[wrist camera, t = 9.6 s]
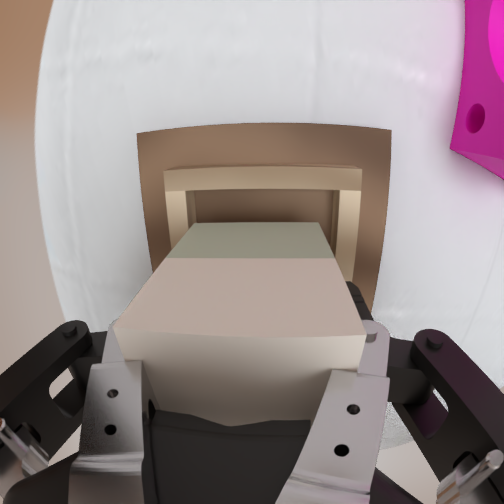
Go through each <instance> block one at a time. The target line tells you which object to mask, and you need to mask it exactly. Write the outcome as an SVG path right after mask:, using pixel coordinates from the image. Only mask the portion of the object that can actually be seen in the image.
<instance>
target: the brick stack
mask: <svg viewBox="0 0 504 504" xmlns="http://www.w3.org/2000/svg"><path fill="white" fill-rule="evenodd" d="M113 330H114V333H115V335H116V338H117V341H118V344H119V347H120V349H121V352H122V355H123V357H124V360H125V361H129V360H142V362H143V364H144V367H145V370H146V373H147V376H148V378H149V381H150V384H151V386H152V389H153V391H154V394H155V397H156V399H157V402H158V404H159V406H160V409H161V410H163V411H170V412H176V413H183V414H191V415H194V416H197V417H200V418H203V419H206V420H209V421H212V422H215V423H219V424H222V425H225V426H238V425H245V424H252V423H258V422H264V421H269V420H310V421H311V427H312V425H313V422H314V420H315V417H316V415H317V412H318V409H319V407H320V404H321V401H322V399H323V396H324V393H325V390H326V387H327V384H328V382H329V379H330V376H331V373H332V370H333V369H341V370H348V371H354V372H357V371H358V367H359V363H360V360H361V356H362V352H363V348H364V344H365V340H366V336H367V334H366V331H365V329H364V326H363V324H362V321H361V319H360V316H359V314H358V311H357V309H356V306H355V304H354V301H353V299H352V296H351V294H350V292H349V289H348V287H347V285H346V282H345V280H344V278H343V275H342V273H341V271H340V268H339V266H338V264H337V262H336V259H335V257H334V255H333V253H332V250H331V248H330V246H329V244H328V242H327V240H326V237H325V235H324V233H323V231H322V229H321V227H320V225H319V223H318V222H236V223H194V224H193V225H192V226H191V228H190V229H189V230H188V231H187V232H186V233H185V235H184V236H183V237H182V238H181V239H180V241H179V242H178V243H177V244H176V246H175V247H174V248H173V249H172V250H171V252H170V253H169V254H168V255H167V257H166V258H165V259H164V260H163V262H162V263H161V264H160V265H159V267H158V268H157V269H156V270H155V272H154V273H153V274H152V275H151V277H150V278H149V279H148V280H147V282H146V283H145V284H144V286H143V287H142V288H141V289H140V291H139V292H138V293H137V295H136V296H135V297H134V299H133V300H132V301H131V303H130V304H129V305H128V306H127V308H126V309H125V310H124V312H123V313H122V315H121V316H120V317H119V319H118V320H117V321H116V323H115V324H114V325H113Z"/></svg>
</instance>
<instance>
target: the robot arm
mask: <svg viewBox="0 0 504 504" xmlns="http://www.w3.org/2000/svg"><path fill="white" fill-rule="evenodd" d="M345 282H346V285H347V287H348V289H349V292H350V294H351V296H352V299H353V301H354V304H355V306H356V309H357V311H358V314H359V316H360V319H361V321H362V324H363V326H364V329H365V331H366V334H367V336H366V340H365V344H364V348H363V352H362V356H361V360H360V363H359V367H358V371H357V372H354V371H348V370H341V369H333V370H332V373H331V376H330V379H329V382H328V384H327V387H326V390H325V393H324V396H323V399H322V401H321V404H320V407H319V409H318V412H317V415H316V417H315V420H314V422H313V425H312V427H311V421H310V420H269V421H264V422H258V423H252V424H245V425H238V426H225V425H222V424H219V423H215V422H212V421H209V420H206V419H203V418H200V417H197V416H194V415H191V414H183V413H176V412H170V411H163V410H161V409H160V406H159V404H158V402H157V399H156V397H155V394H154V391H153V389H152V386H151V384H150V381H149V378H148V376H147V373H146V370H145V367H144V364H143V362H142V360H129V361H125V360H124V357H123V355H122V352H121V349H120V347H119V344H118V341H117V338H116V335H115V333H114V330H113V325H114V324H115V323H116V321H117V320H118V319H119V318H118V319H116V320H114V321H113V322H112V323H111V324H110V326H109V328H108V331H104V332H94V333H90V331H89V329H88V326H87V324H86V323H85V322H83V321H79V320H74V321H69V322H66V323H64V324H62V325H60V326H59V327H58V328H57V329H55V330H54V331H53V332H52V333H50V334H49V335H48V336H46V337H45V338H44V339H43V340H41V341H40V342H39V343H38V344H37V345H35V346H34V347H33V348H32V349H30V350H29V351H28V352H27V353H26V354H25V355H23V356H22V357H21V358H20V359H19V360H17V361H16V362H15V363H14V364H13V365H11V366H10V367H9V368H8V369H7V370H6V371H4V372H3V373H2V374H1V375H0V495H1V497H2V498H3V499H4V500H3V504H423V503H421V502H420V501H419V500H417V499H416V498H415V497H413V496H412V495H411V494H409V493H408V492H407V491H405V490H404V489H403V488H401V487H400V486H399V485H397V484H396V483H395V482H394V481H392V480H391V479H390V478H389V477H387V476H386V475H385V474H383V473H382V472H381V471H380V470H378V469H377V468H376V467H375V466H376V462H377V457H378V453H379V448H380V443H381V438H382V432H383V426H384V420H385V414H386V407H387V402H392V405H393V407H394V408H395V410H396V412H397V413H398V415H399V416H400V418H401V419H402V421H403V423H404V424H405V426H406V427H407V429H408V431H409V432H410V434H411V435H412V437H413V439H414V440H415V442H416V443H417V445H418V447H419V448H420V450H421V452H422V453H423V455H424V457H425V458H426V460H427V462H428V463H429V465H430V467H431V468H432V470H433V472H434V473H435V475H436V477H437V478H438V480H439V482H440V484H439V486H438V489H437V500H436V504H504V394H503V393H502V392H501V391H500V390H499V389H498V387H497V386H496V385H495V384H494V383H493V382H492V381H491V380H490V379H489V378H488V376H487V375H486V374H485V373H484V372H483V371H482V370H481V369H480V368H479V367H478V366H477V365H476V364H475V363H474V362H473V361H472V360H471V359H470V357H469V356H468V355H467V354H466V353H465V352H464V351H463V350H462V349H461V348H460V347H459V346H458V345H457V344H456V343H455V342H454V341H453V340H452V339H451V338H450V337H449V336H447V335H446V334H445V333H443V332H441V331H438V330H434V329H424V330H421V331H419V332H418V333H417V334H416V335H415V337H414V340H413V341H408V340H401V339H395V338H392V337H390V334H389V331H388V329H387V328H386V327H385V326H383V325H382V324H380V323H378V322H375V321H374V320H373V318H372V316H371V313H370V311H369V309H368V307H367V305H366V303H365V300H364V298H363V296H362V294H361V292H360V290H359V288H358V287H357V286H356V285H355V284H353V283H352V282H351V281H345ZM67 368H68V369H69V371H70V373H71V375H72V376H73V378H74V379H73V380H72V381H71V382H69V384H68V385H66V386H65V387H64V388H63V390H61V391H60V392H59V393H58V394H57V395H56V396H55V397H54V398H53V399H52V398H51V396H50V394H49V387H50V385H51V383H52V382H53V381H54V380H55V379H56V378H57V377H58V376H59V375H60V374H61V373H62V372H63V371H64V370H66V369H67ZM434 389H436V390H437V391H438V393H439V394H440V395H441V396H442V398H443V399H444V400H445V402H446V403H447V406H448V412H447V410H446V409H445V408H444V406H443V405H442V404H441V402H440V401H439V400H438V398H437V397H436V396H435V394H434V393H433V390H434ZM81 424H82V425H81ZM80 425H81V433H80V443H79V451H78V452H76V453H74V454H72V455H70V456H69V457H67V458H65V459H63V460H61V461H59V462H57V463H55V464H53V465H51V466H49V467H48V464H49V460H50V459H51V458H52V457H53V456H54V455H55V453H56V452H57V451H58V450H59V449H60V448H61V446H62V445H63V444H64V443H65V442H66V441H67V439H68V438H69V437H70V436H71V435H72V434H73V433H74V432H75V431H76V429H77V428H78V427H79V426H80Z"/></svg>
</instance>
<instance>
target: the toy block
mask: <svg viewBox="0 0 504 504" xmlns="http://www.w3.org/2000/svg"><path fill="white" fill-rule="evenodd" d="M450 149H451V150H453V151H455V152H457V153H459V154H461V155H463V156H465V157H466V158H468V159H470V160H472V161H474V162H475V163H477V164H479V165H481V166H482V167H484V168H486V169H487V170H489V171H491V172H492V173H494V174H496V175H497V176H499V177H500V178H502V179H504V0H465V46H464V61H463V71H462V80H461V88H460V96H459V102H458V108H457V114H456V120H455V125H454V130H453V135H452V140H451V144H450Z"/></svg>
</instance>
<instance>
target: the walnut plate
mask: <svg viewBox="0 0 504 504" xmlns="http://www.w3.org/2000/svg"><path fill="white" fill-rule="evenodd" d="M137 147H138V161H139V172H140V183H141V193H142V202H143V210H144V218H145V225H146V232H147V239H148V246H149V252H150V258H151V264H152V270H153V273H154V272H155V270H156V269H157V268H158V267H159V265H160V264H161V263H162V262H163V260H164V259H165V258H166V257H167V255H168V254H169V253H170V252H171V250H172V249H173V248H174V247H175V246H176V244H177V243H178V242H179V241H180V239H181V238H182V237H183V236H184V235H185V233H186V232H187V231H188V230H189V229H190V228H191V226H192V225H193V224H194V223H236V222H318V223H319V225H320V227H321V229H322V231H323V233H324V235H325V237H326V240H327V242H328V244H329V246H330V248H331V250H332V253H333V255H334V257H335V259H336V262H337V264H338V266H339V268H340V271H341V273H342V275H343V278H344V280H345V281H351V282H352V283H353V284H355V285H356V286H357V287H358V288H359V290H360V292H361V294H362V296H363V298H364V300H365V303H366V305H367V307H368V309H369V311H370V313H371V310H372V305H373V300H374V295H375V290H376V285H377V279H378V273H379V267H380V261H381V255H382V248H383V241H384V233H385V225H386V216H387V206H388V194H389V181H390V164H391V130H387V129H378V128H369V127H359V126H347V125H332V124H312V123H241V124H221V125H206V126H194V127H183V128H174V129H165V130H157V131H150V132H143V133H137Z"/></svg>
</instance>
